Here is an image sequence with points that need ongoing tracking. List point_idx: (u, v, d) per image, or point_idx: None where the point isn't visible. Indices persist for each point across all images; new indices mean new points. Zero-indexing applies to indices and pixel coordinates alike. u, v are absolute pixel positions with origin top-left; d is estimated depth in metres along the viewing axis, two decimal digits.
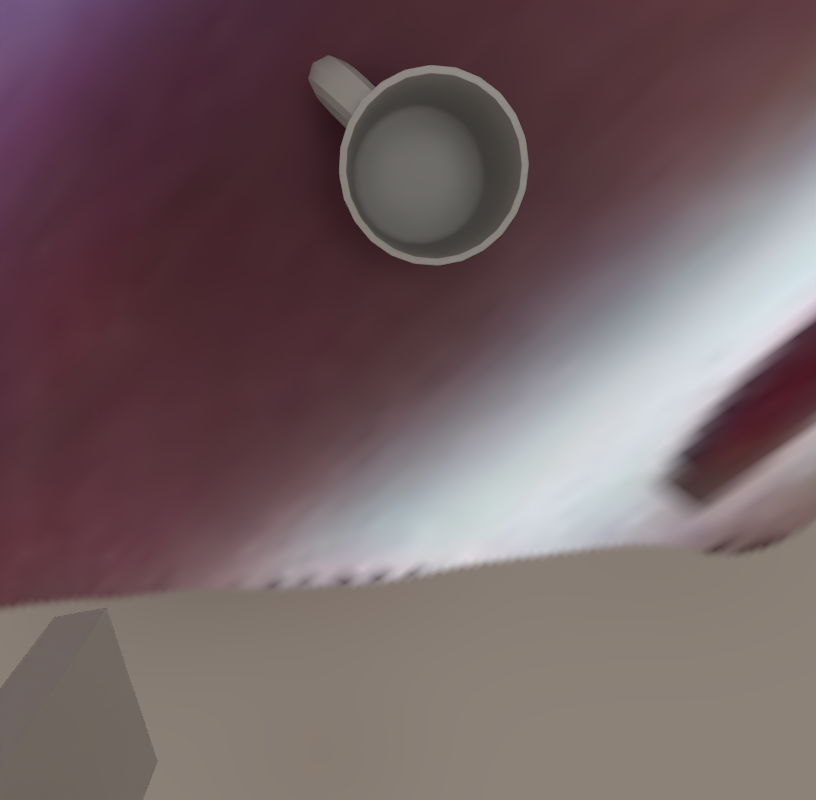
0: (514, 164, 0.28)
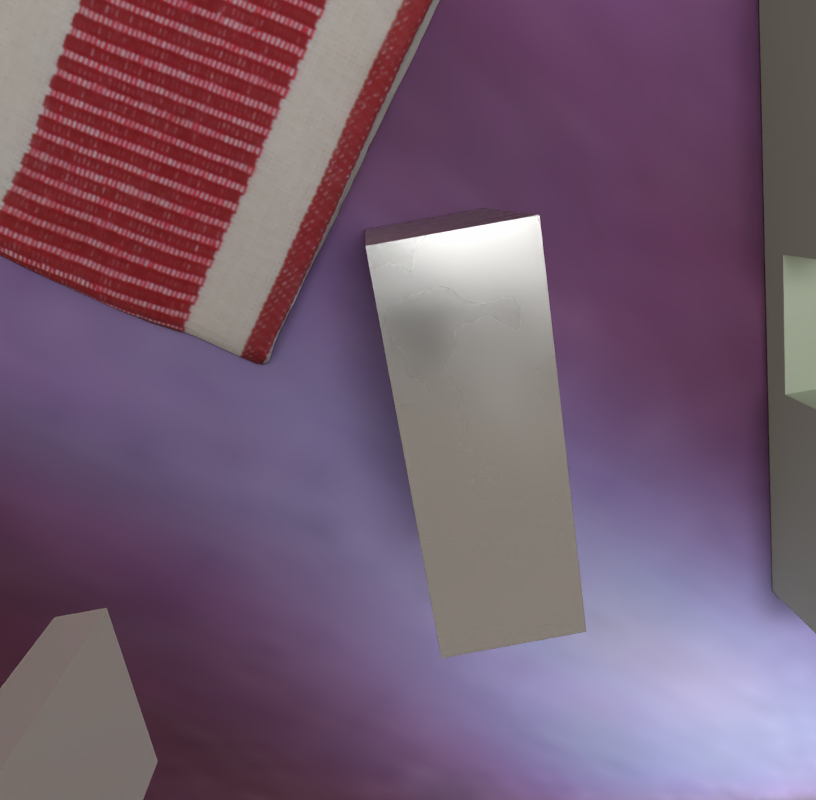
0: None
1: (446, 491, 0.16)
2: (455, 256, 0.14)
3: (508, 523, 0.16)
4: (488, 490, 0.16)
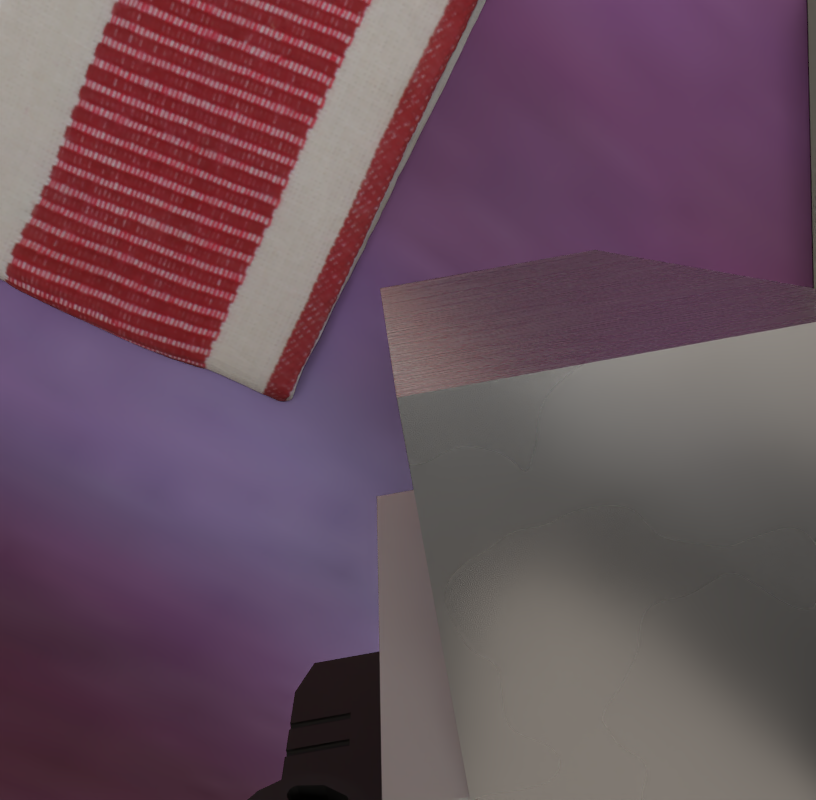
0: None
1: None
2: (657, 423, 0.05)
3: None
4: None
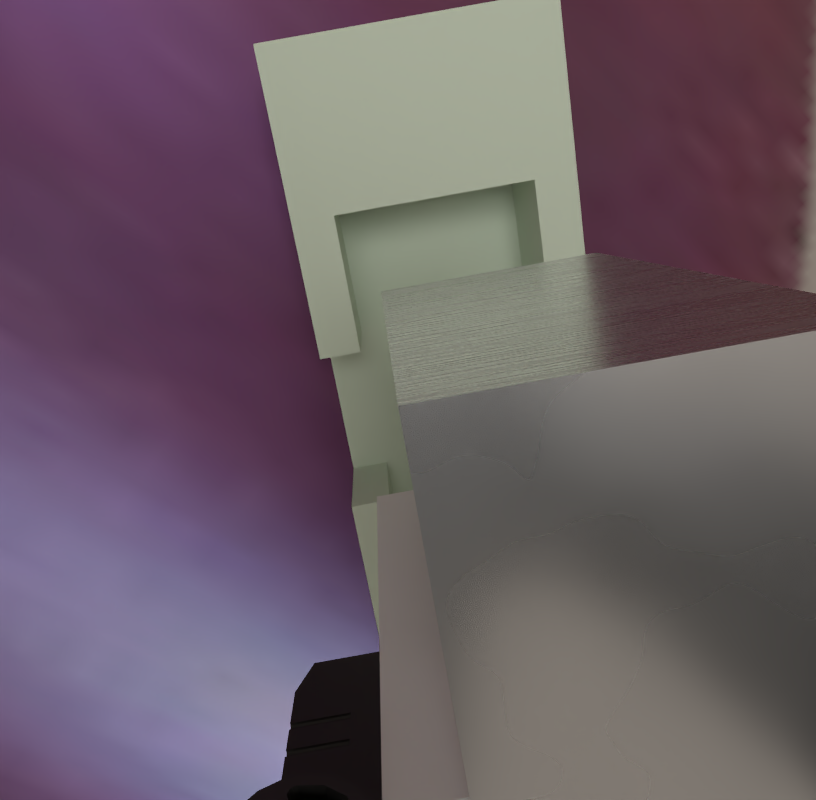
0: None
1: None
2: (661, 431, 0.05)
3: None
4: None
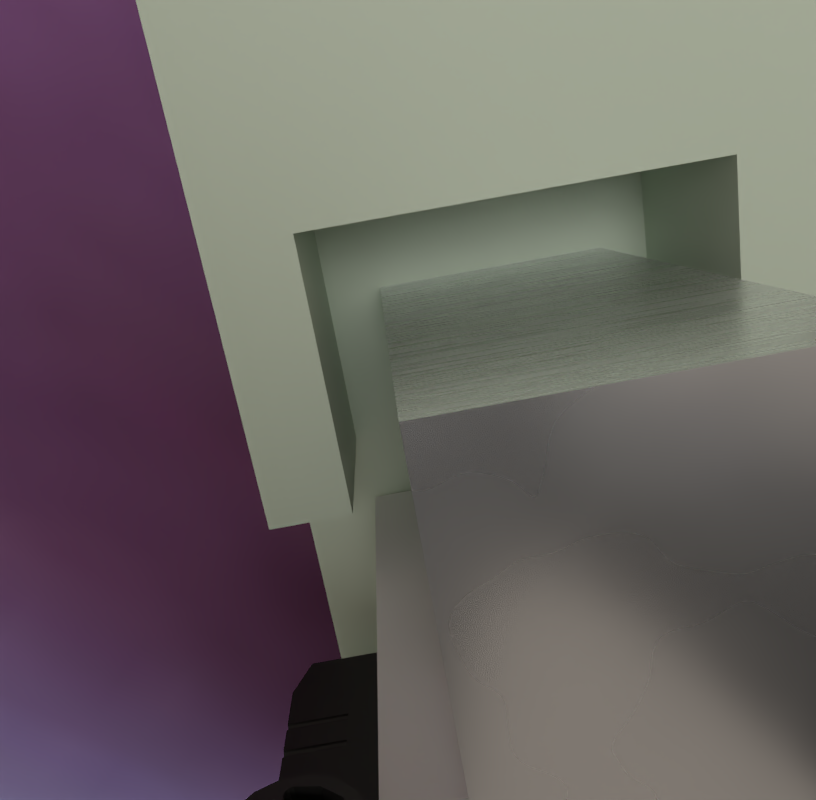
0: None
1: None
2: (672, 447, 0.05)
3: None
4: None
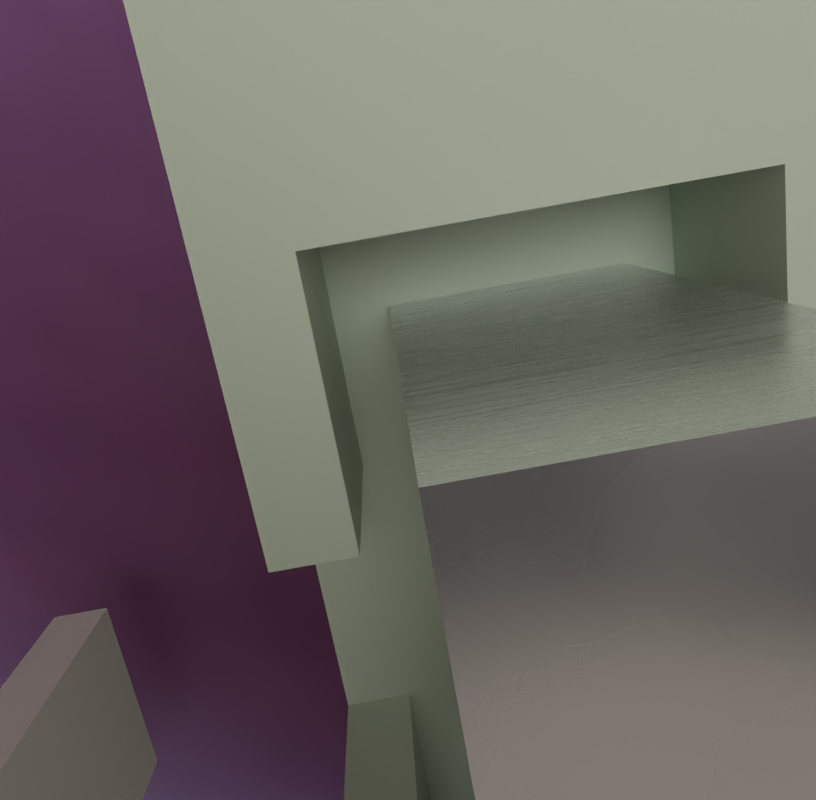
0: None
1: None
2: (745, 517, 0.04)
3: None
4: None
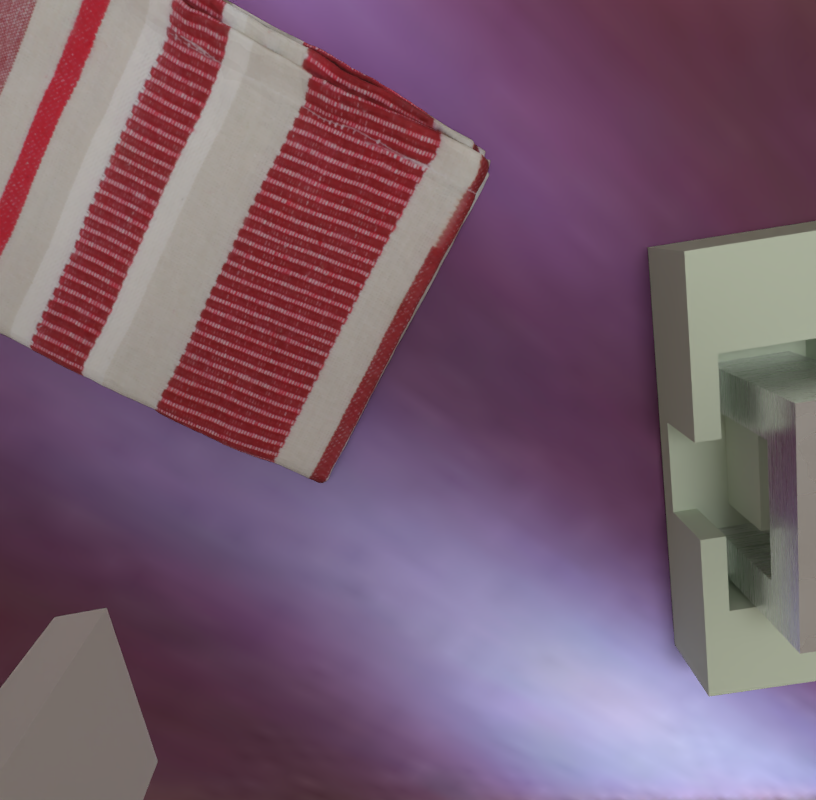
0: None
1: None
2: None
3: None
4: None
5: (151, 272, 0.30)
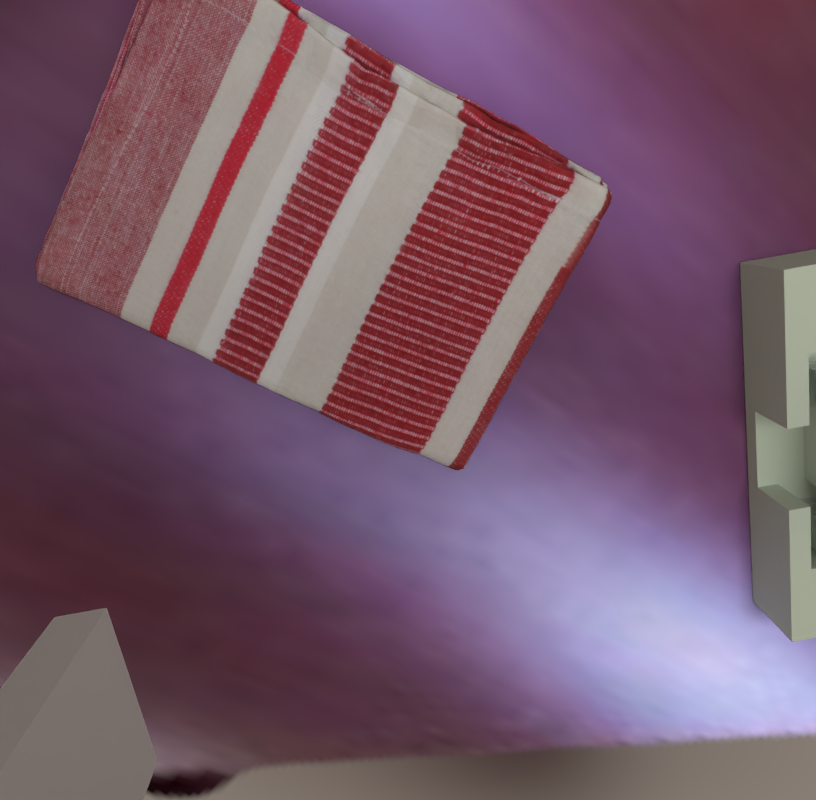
0: None
1: None
2: None
3: None
4: None
5: (318, 293, 0.35)
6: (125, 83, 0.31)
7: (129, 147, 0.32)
